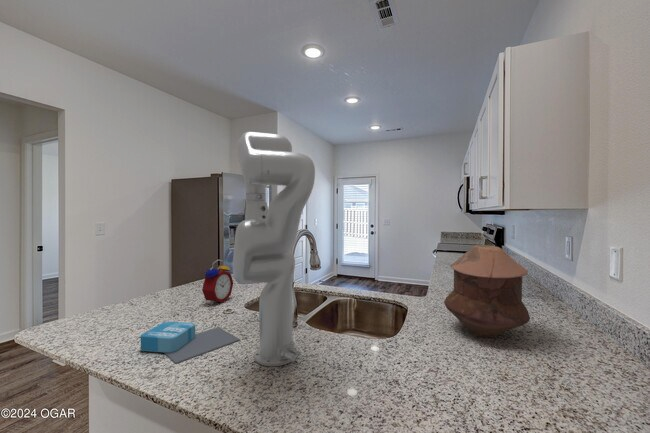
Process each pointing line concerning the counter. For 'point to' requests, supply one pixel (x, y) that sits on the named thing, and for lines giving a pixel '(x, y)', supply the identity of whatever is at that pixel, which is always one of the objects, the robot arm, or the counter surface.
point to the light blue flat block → (168, 337)
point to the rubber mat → (203, 344)
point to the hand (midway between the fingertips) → (256, 245)
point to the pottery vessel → (487, 291)
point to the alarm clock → (217, 284)
